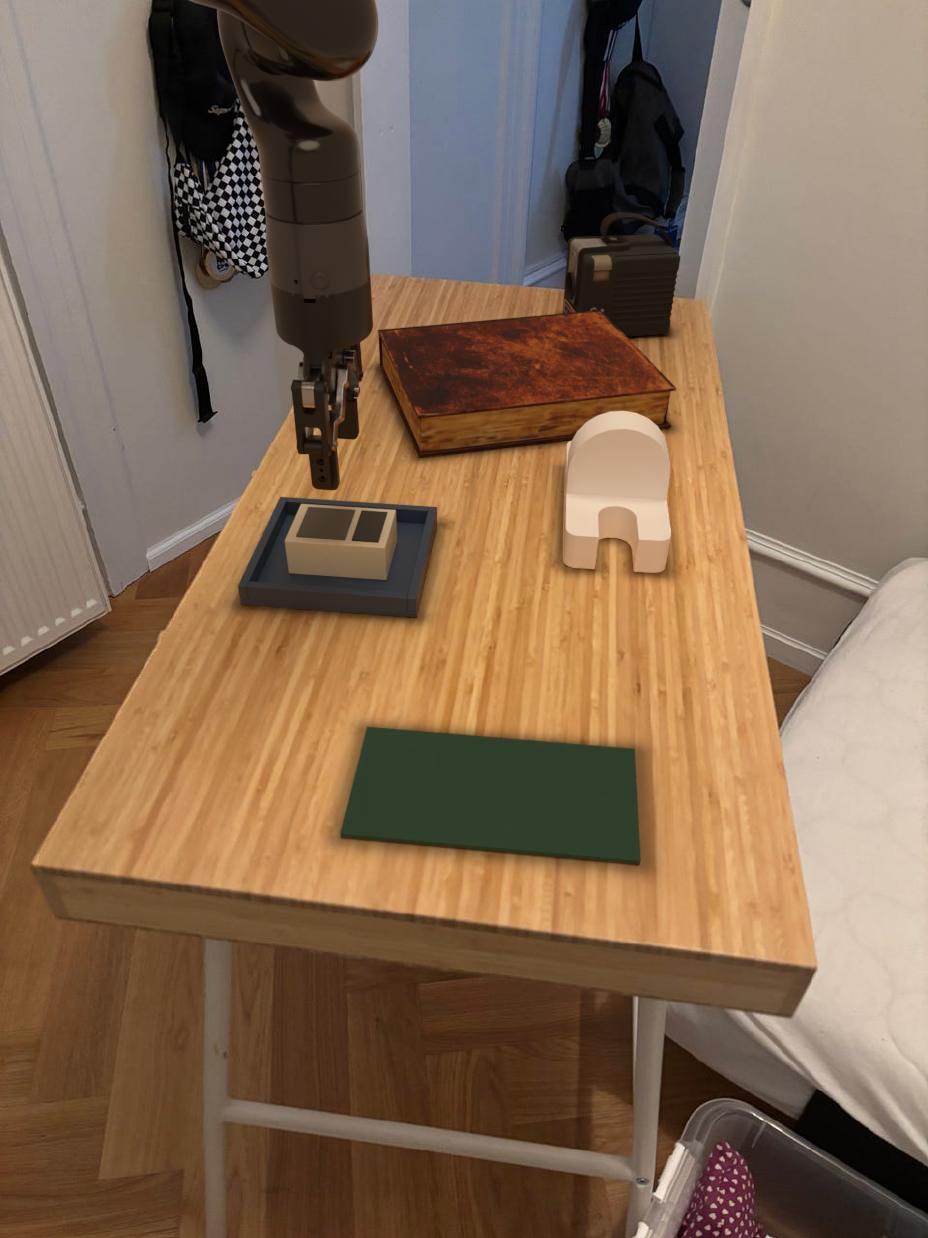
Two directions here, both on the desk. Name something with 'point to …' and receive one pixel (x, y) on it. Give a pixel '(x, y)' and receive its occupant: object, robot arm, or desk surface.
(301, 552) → the beige rectangular block
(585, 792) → the mat
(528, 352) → the book
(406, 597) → the tray
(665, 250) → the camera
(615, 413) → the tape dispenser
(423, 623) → the desk surface
